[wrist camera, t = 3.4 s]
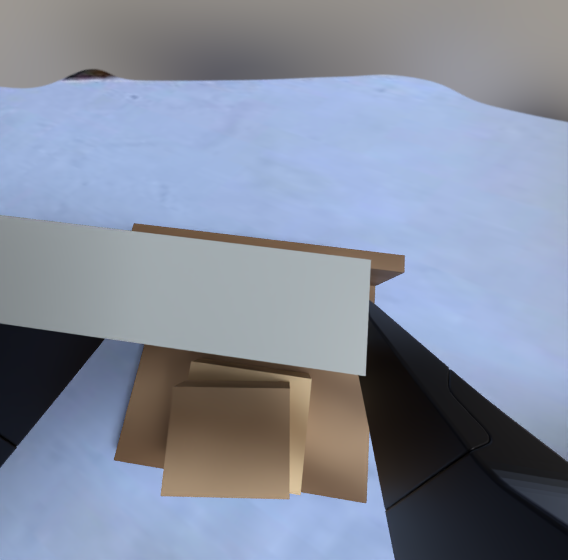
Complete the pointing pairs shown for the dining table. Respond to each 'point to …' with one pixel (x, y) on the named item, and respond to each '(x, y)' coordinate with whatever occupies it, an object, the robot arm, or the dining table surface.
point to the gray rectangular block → (186, 293)
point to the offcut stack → (237, 432)
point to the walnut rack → (324, 386)
